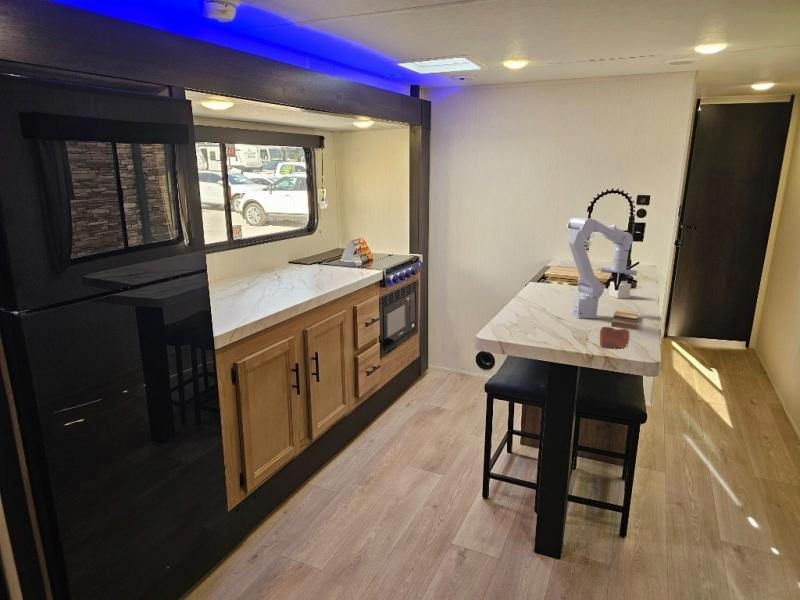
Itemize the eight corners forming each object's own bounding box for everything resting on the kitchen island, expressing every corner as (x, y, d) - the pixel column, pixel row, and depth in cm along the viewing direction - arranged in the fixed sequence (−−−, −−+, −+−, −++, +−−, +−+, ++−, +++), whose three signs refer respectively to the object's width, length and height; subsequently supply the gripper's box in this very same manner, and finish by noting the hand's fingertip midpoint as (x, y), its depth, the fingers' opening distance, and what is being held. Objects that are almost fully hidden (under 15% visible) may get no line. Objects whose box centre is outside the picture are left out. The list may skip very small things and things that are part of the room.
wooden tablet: (601, 328, 211) (601, 325, 211) (627, 332, 207) (628, 328, 207) (596, 348, 187) (597, 344, 187) (627, 352, 183) (627, 348, 183)
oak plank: (636, 323, 217) (636, 318, 217) (613, 319, 221) (613, 315, 220) (637, 316, 227) (638, 312, 226) (615, 313, 230) (615, 309, 230)
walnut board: (635, 329, 209) (636, 323, 208) (611, 326, 212) (612, 320, 212) (636, 324, 216) (637, 318, 215) (612, 321, 219) (613, 315, 219)
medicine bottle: (620, 294, 267) (623, 271, 264) (629, 298, 260) (632, 274, 257) (608, 295, 265) (611, 272, 262) (617, 298, 258) (620, 275, 255)
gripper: (638, 259, 227) (634, 289, 231) (603, 256, 233) (599, 286, 237) (638, 262, 221) (633, 293, 224) (601, 259, 227) (598, 289, 231)
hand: (616, 289), depth 230 cm, fingers closed
